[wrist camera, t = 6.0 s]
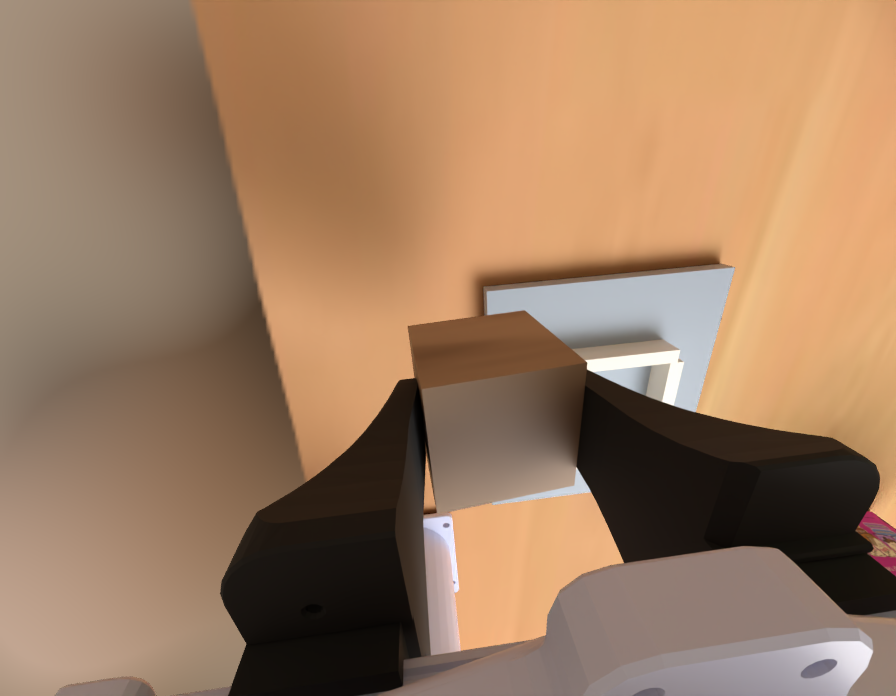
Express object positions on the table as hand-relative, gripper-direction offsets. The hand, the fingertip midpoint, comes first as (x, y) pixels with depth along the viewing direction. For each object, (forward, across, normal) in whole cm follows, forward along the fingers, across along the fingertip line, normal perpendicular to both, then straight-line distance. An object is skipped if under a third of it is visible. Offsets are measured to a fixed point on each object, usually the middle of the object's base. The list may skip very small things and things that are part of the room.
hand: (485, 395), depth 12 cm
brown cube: (+2, 0, 0) cm, 2 cm away
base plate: (+9, -9, +7) cm, 14 cm away
